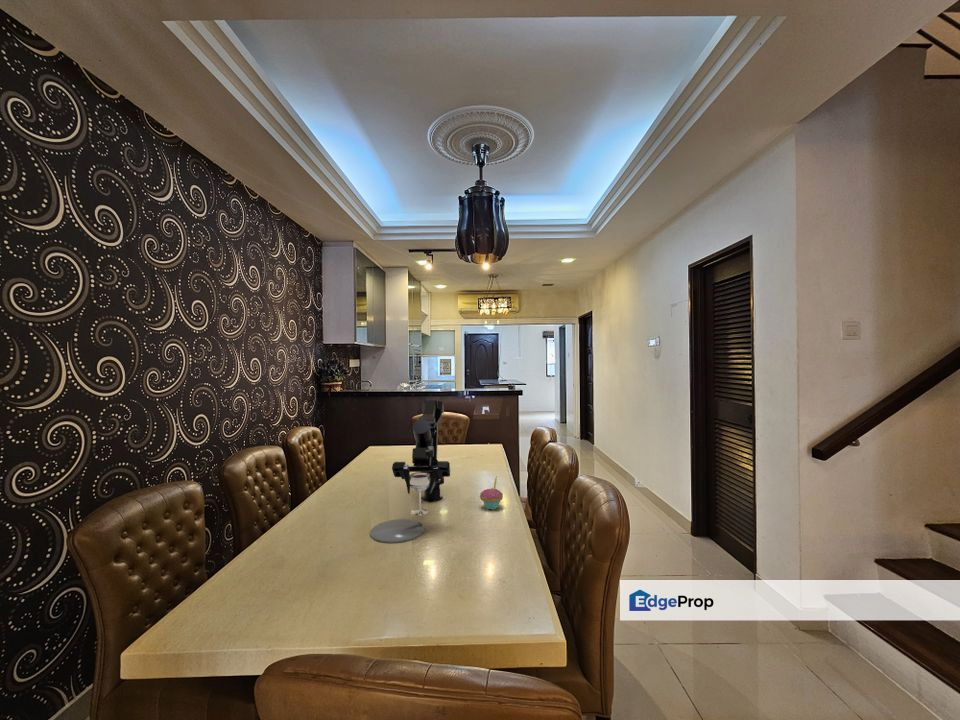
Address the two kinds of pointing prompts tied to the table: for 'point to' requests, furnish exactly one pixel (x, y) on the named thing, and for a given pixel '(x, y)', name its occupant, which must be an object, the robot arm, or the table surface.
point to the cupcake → (491, 497)
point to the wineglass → (419, 487)
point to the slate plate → (397, 531)
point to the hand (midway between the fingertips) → (419, 493)
